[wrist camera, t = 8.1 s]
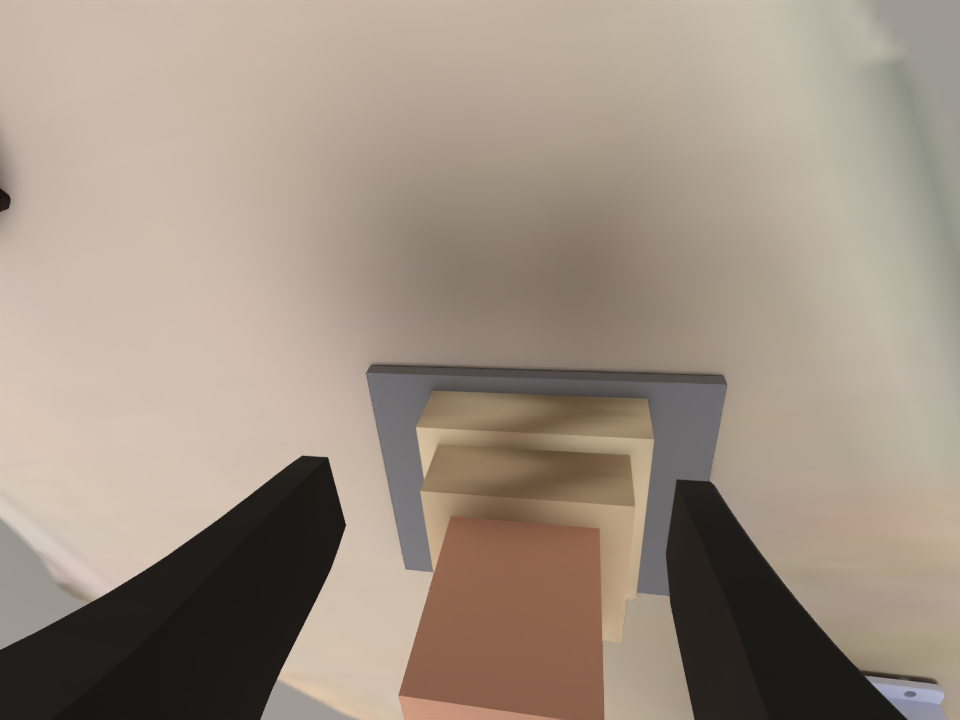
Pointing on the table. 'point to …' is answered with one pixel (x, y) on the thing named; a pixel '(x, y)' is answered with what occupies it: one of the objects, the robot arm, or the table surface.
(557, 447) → the oak slab base
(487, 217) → the table surface
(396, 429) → the mat
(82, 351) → the table surface
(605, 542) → the oak slab top
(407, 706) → the terracotta block
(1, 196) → the mate gourd
